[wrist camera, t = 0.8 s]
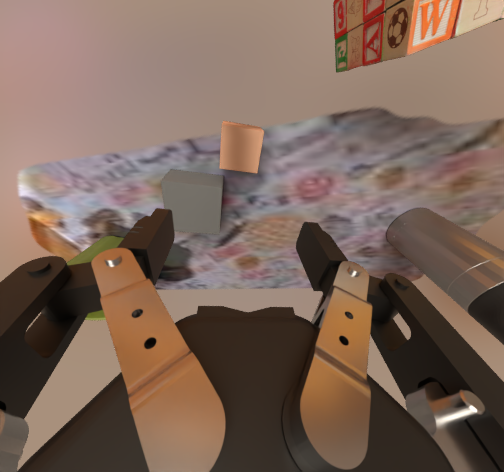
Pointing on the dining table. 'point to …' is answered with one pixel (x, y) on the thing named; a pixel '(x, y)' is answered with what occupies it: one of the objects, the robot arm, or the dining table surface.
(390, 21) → the stack of blocks
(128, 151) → the dining table surface
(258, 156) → the terracotta cube
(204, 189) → the grey base block
